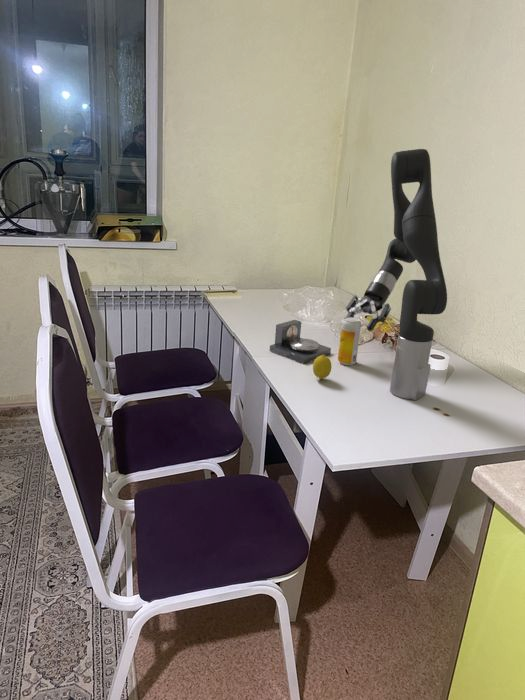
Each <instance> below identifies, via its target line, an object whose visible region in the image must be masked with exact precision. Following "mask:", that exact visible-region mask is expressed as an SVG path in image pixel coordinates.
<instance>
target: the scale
mask: <svg viewBox="0 0 525 700" xmlns="http://www.w3.org/2000/svg"><path fill="white" fill-rule="evenodd" d="M301 328H302V321H300V320H297V319H291V320H288V321H285V322H281V323H278V324H275V333H274V343H273V344H269V352H271V353H274V354H277V355H279V356H282V357H284V358H287V359H290V360H292V361H294V360H295V361H294V362H296V363H297V362H298V363H301V364H302V363H303V364H306V362H307V363H309V362H312V361H315V360H314V359H316V358H317V357H319V356H321V355H325V356H328V355H331V352H332V348H331V347H329V346H326V345H323V344H320V343H319V348H318V349H317V350H314V351H300V350H296V349H293V348H291V347H290V341H291V340H293V339H299V338H301V333H302V332H301V331H302V329H301ZM311 360H312V361H311Z"/></svg>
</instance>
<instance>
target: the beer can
mask: <svg viewBox="0 0 525 700" xmlns="http://www.w3.org/2000/svg"><path fill="white" fill-rule="evenodd" d="M361 327H362V322H361V319H359V318H358V317H355V316H354V317H346V316H345V317H344V318H343V320H342V321H341V328H340V337H339V345H338V346H339V347H338V355H337V361H338V363H339V362H340V363H339V364H341V365H344V366H353V365H355V363H357V358H358V353H359V352H358V349H359V342H360V336H361Z"/></svg>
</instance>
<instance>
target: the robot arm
mask: <svg viewBox="0 0 525 700" xmlns="http://www.w3.org/2000/svg"><path fill="white" fill-rule="evenodd" d="M390 161H391V162H390V176H391V178H390V179H391V191H392V193H391V195H392V203H393V212H394V213H393V215H394V216H393V217H394V218H393V219H394V220H393V236H394V237H395V238H394V239H391V241H390V242H389V244H388V246H387V251H386V255H385V259H384V261H383V262H382V265H381V267H380V268H379V270H378V272H377V273H376V274H375V275H374V277H373V278H372V280H371V282H370V283H369V284H368V287H367V288H366V290H365V292H364V293H363V297H358V296H357V295H354V296H353V297H352V298H351V299H350V301H349V302H348V304H347V305H346V307H345V310H346V311H347V314H346V316H345V317H354V318H355V316H356V315H358V314H361V313H365V314H369V315H372V318H371V319H370V321H369V323H368V324H367V326H366V329H367V331H368V332H372V331H373V330H374V329H375V328H376V326H377V323H383V324H384V323H385V321H386V320H387V317H388V316H389V314H390V312H391V310H392V308H391V305H390V304H389V303H386V302H387V300H388V298H389V296H390V295H391V293H392V292H393V290H394V289H395V285H397V282H398V281H399V279H400V277H401V275H402V273H403V271H404V267H403V265H402V264H401V263H400V262H405V263H407V264H412V263H414V262H415V261H417V263H418V264H419V265H420V266H421V269H422V271H423V273H424V275H425V279H410V280H408V281H407V282H406V283H405V285H404V288H403V292H402V299H401V310H400V319H399V329H398V330H399V331H398V335H397V336H398V337H397V343H396V349H395V356H394V361H393V368H392V374H391V380H390V385H389V392H390V393H391V394H392V395H394V396H396V397H398V398H402V399H407V400H412V401H417V400H419V399H420V398H423V397H424V396H425V395H426V392H427V386H428V381H429V377H430V371H431V367H432V366H431V364H430V363H429V362H430V361H429V360H430V355H431V349H432V345H433V340H434V335H435V334H434V333H435V331H434V328H432V327H431V326H429V325H428V324H426V323H423V322H421V321H419V320H418V315H440V314H442V313H444V311H445V310H446V308H447V303H448V292H447V291H448V289H447V285H446V280H445V275H444V272H443V265H442V262H441V257H440V247H439V241H438V240H439V239H438V227H437V219H436V213H435V205H434V200H433V192H432V191H433V188H432V187H433V186H432V168H431V166H432V165H431V164H432V163H431V156H430V153H429V151H428V150H427V149H426V148H417V149H408V150H401V151H396V152H395V153H393V154H392V156H391V160H390ZM410 183H419V186H418V188H417V191H416V194H415V195H414V198H413V200H412V201H410V200H409V199H408V196H407V195H406V194H405V192H404V190H403V184H410ZM399 261H400V262H399ZM380 310H381V312H380V314H379V311H380Z"/></svg>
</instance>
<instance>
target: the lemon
mask: <svg viewBox="0 0 525 700" xmlns="http://www.w3.org/2000/svg"><path fill="white" fill-rule="evenodd" d="M312 371H313V374H314V375H315V377H316V378H318V379H319V380H323V379H326V378H327V377H329V375H330V374H331V372H332V362H331V358H329V357H328V355H321V356H319V357H317V358H316V359H315V360H313V365H312Z"/></svg>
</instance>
